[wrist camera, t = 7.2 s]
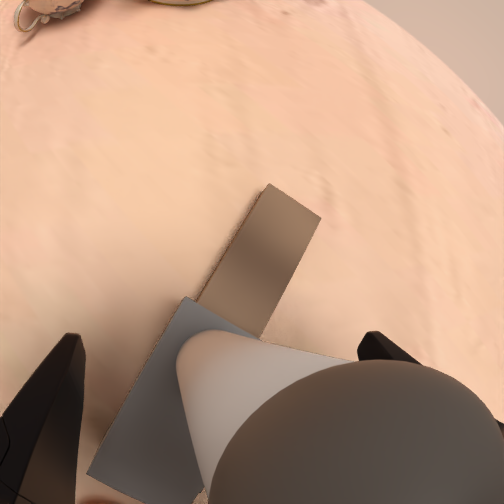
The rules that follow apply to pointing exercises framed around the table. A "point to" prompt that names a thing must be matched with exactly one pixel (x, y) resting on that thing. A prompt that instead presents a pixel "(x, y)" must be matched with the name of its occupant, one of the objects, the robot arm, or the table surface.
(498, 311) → the table surface
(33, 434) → the robot arm
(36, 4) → the chinaware
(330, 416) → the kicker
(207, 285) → the rail
